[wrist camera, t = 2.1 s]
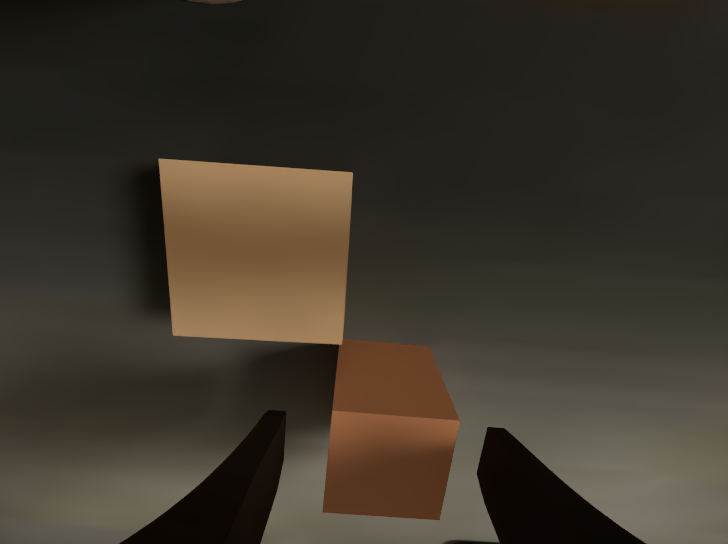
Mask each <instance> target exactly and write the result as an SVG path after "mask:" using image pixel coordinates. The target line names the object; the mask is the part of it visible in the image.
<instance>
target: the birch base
mask: <svg viewBox="0 0 728 544" xmlns="http://www.w3.org/2000/svg"><path fill="white" fill-rule="evenodd" d="M159 169H160V182H161V194H162V206H163V218H164V231H165V243H166V255H167V268H168V280H169V292H170V305H171V317H172V329H173V336H190V337H208V338H227V339H246V340H265V341H283V342H302V343H321V344H340V345H342V340H343V328H344V316H345V300H346V282H347V265H348V248H349V231H350V214H351V196H352V179H353V173H352V172H338V171H324V170H310V169H296V168H282V167H268V166H254V165H240V164H226V163H212V162H198V161H184V160H170V159H159Z"/></svg>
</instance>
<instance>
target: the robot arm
mask: <svg viewBox="0 0 728 544" xmlns="http://www.w3.org/2000/svg"><path fill="white" fill-rule="evenodd" d="M285 425H286V411H274V410H268V411H267V412H266V413H265V414H264V415H263V417H262V418H261V419H260V421H259V422H258V423H257V424H256V426H255V427H254V428H253V429H252V431H251V432H250V433H249V434H248V435H247V437H246V438H245V439H244V440H243V441H242V442H241V443H240V444H239V446H238V447H237V448H236V449H235V450H234V451H233V452H232V453H231V454H230V455H229V456H228V457H227V458H226V459H225V460H224V461H223V462H222V463H221V464H220V465H219V466H218V467H217V468H216V469H215V470H214V471H213V472H212V473H211V474H210V475H209V476H208V477H207V478H206V479H205V480H204V481H203V482H202V483H200V484H199V485H198V486H197V487H196V488H195V489H194V490H192V491H191V492H190V493H189V494H188V495H186V496H185V497H184V498H183V499H181V500H180V501H179V502H178V503H176V504H175V505H174V506H173V507H171V508H170V509H169V510H168V511H166V512H165V513H164V514H162V515H161V516H160V517H158V518H157V519H155V520H154V521H153V522H151V523H150V524H148V525H147V526H145V527H144V528H142V529H141V530H139V531H138V532H136V533H135V534H133V535H132V536H130V537H129V538H127V539H126V540H124V541H123V542H121V543H119V544H260V543H261V540H262V536H263V533H264V530H265V527H266V524H267V521H268V518H269V515H270V511H271V508H272V505H273V502H274V499H275V496H276V492H277V489H278V484H279V479H280V475H281V470H282V465H283V460H284V444H285ZM477 476H478V480H479V484H480V488H481V492H482V495H483V499H484V503H485V505H486V508H487V511H488V513H489V516H490V519H491V521H492V524H493V526H494V529H495V531H496V534H497V536H498V539H499V541H500V544H646V543H644V542H643V541H641V540H640V539H638V538H637V537H635V536H634V535H632V534H631V533H629V532H628V531H626V530H625V529H623V528H622V527H620V526H619V525H618V524H616V523H615V522H614V521H612V520H611V519H610V518H608V517H607V516H605V515H604V514H603V513H601V512H600V511H599V510H597V509H596V508H595V507H593V506H592V505H591V504H590V503H588V502H587V501H586V500H585V499H583V498H582V497H581V496H580V495H579V494H577V493H576V492H575V491H574V490H573V489H571V488H570V487H569V486H568V485H567V484H565V483H564V482H563V481H562V480H561V479H560V478H558V477H557V476H556V475H555V474H554V473H553V472H552V471H551V470H549V469H548V468H547V467H546V466H545V465H544V464H543V463H542V462H541V461H540V460H539V459H537V458H536V457H535V456H534V455H533V454H532V453H531V452H530V451H529V450H528V449H527V448H526V447H525V446H523V445H522V444H521V443H520V442H519V441H518V440H517V439H516V438H515V437H514V436H513V435H511V434H510V433H509V432H508V431H507V430H506V429H505V428H494V427H488V428H487V432H486V436H485V440H484V445H483V449H482V453H481V457H480V462H479V466H478V470H477Z"/></svg>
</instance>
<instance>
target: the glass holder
mask: <svg viewBox="0 0 728 544" xmlns="http://www.w3.org/2000/svg"><path fill="white" fill-rule="evenodd" d="M187 1H192V2H199V3H206V4H222V3H234V2H238V1H242V0H187Z"/></svg>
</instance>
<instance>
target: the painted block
mask: <svg viewBox="0 0 728 544" xmlns="http://www.w3.org/2000/svg"><path fill="white" fill-rule="evenodd" d="M459 423H460V420H459V417H458V415H457V413H456V410H455V408H454V405H453V403H452V401H451V398H450V396H449V393H448V391H447V389H446V386H445V384H444V381H443V379H442V377H441V374H440V372H439V369H438V367H437V365H436V362H435V360H434V357H433V355H432V353H431V350H430V348H429V347H427V346H416V345H405V344H393V343H382V342H371V341H359V340H348V339H343V340H342V345H340V344H339V352H338V361H337V371H336V380H335V389H334V399H333V408H332V418H331V429H330V440H329V450H328V461H327V471H326V482H325V492H324V503H323V512H325V513H340V514H355V515H370V516H386V517H401V518H416V519H431V520H440V515H441V510H442V505H443V500H444V495H445V491H446V486H447V481H448V476H449V471H450V466H451V461H452V457H453V452H454V447H455V442H456V437H457V432H458V427H459Z"/></svg>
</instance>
